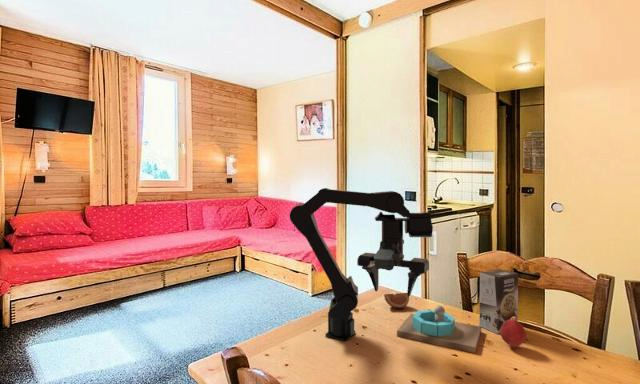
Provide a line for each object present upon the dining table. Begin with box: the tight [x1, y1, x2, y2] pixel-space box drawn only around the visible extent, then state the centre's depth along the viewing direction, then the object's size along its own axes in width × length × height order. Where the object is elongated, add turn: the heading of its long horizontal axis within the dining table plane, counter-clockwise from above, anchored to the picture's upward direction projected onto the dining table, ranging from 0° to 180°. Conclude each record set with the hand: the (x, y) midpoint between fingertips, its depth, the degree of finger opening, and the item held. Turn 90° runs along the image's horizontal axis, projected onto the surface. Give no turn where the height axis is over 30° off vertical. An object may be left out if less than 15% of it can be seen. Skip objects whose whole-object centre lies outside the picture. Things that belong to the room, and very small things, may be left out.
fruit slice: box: [383, 292, 410, 310], centre depth 119 cm, size 8×7×5 cm
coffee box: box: [478, 268, 519, 335], centre depth 102 cm, size 9×6×16 cm
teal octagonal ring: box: [413, 309, 456, 337], centre depth 99 cm, size 11×11×3 cm
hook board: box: [396, 305, 482, 354], centre depth 98 cm, size 20×14×8 cm
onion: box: [499, 317, 527, 349], centre depth 90 cm, size 6×6×8 cm
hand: (392, 293), depth 97 cm, fingers open, 9 cm apart
